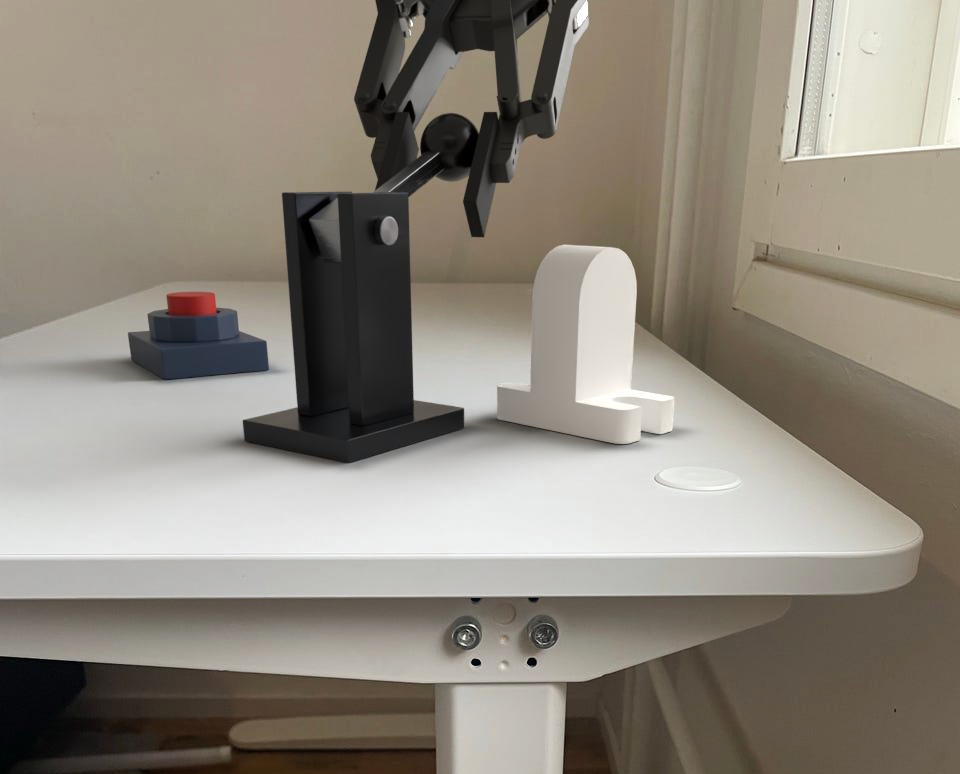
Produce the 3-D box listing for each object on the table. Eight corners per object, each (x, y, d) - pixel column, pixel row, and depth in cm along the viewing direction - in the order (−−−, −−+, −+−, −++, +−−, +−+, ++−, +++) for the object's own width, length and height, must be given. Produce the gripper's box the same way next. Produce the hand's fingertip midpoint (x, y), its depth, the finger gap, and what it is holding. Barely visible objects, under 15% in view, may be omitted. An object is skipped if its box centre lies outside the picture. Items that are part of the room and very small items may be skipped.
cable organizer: (548, 405, 66) (553, 240, 62) (676, 429, 60) (691, 248, 56) (492, 418, 63) (493, 244, 59) (622, 445, 56) (634, 252, 52)
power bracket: (364, 411, 65) (353, 190, 59) (464, 428, 60) (463, 192, 55) (244, 441, 57) (220, 192, 52) (348, 463, 53) (334, 194, 48)
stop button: (163, 316, 79) (160, 293, 78) (209, 313, 81) (206, 290, 80) (176, 321, 76) (173, 297, 76) (223, 318, 78) (221, 294, 77)
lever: (451, 165, 62) (435, 103, 60) (499, 165, 60) (485, 101, 58) (318, 272, 56) (294, 207, 53) (367, 275, 54) (344, 208, 51)
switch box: (131, 360, 82) (124, 308, 81) (227, 352, 86) (222, 302, 84) (164, 379, 74) (157, 322, 73) (269, 370, 78) (264, 315, 76)
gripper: (639, -18, 67) (587, 269, 59) (384, -10, 71) (305, 261, 63) (636, -139, 60) (577, 168, 52) (354, -123, 64) (261, 165, 56)
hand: (429, 218), depth 58 cm, fingers open, 4 cm apart
